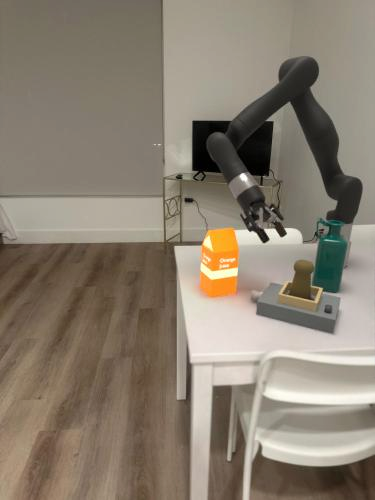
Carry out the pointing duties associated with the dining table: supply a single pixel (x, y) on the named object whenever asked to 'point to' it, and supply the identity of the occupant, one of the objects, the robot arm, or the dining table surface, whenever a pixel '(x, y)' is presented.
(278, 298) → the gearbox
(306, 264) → the cork
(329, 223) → the pitcher
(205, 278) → the orange juice
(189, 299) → the dining table surface
